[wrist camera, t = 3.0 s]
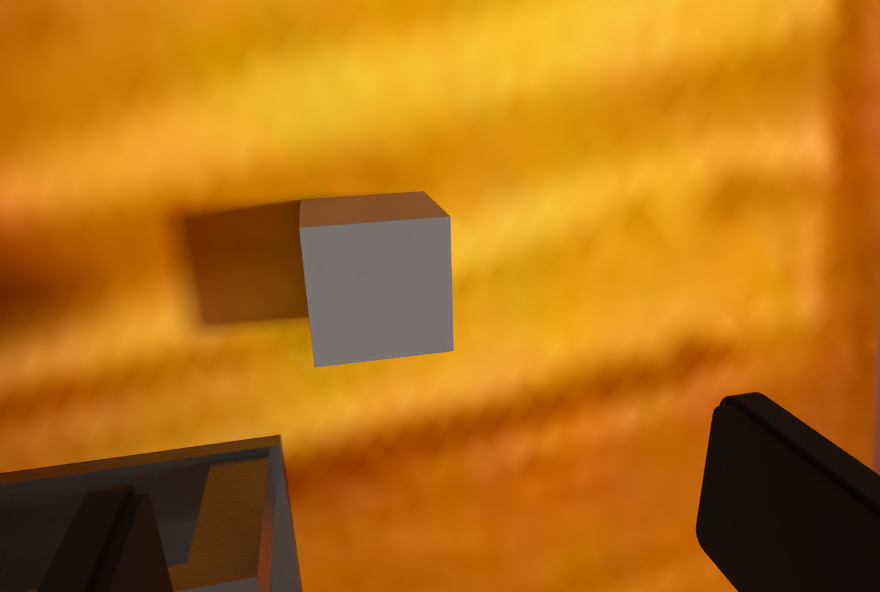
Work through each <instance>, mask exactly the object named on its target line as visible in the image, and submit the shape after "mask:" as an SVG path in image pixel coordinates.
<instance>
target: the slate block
mask: <svg viewBox="0 0 880 592" xmlns="http://www.w3.org/2000/svg"><path fill="white" fill-rule="evenodd" d="M299 232H300V241H301V250H302V259H303V268H304V277H305V286H306V295H307V303H308V312H309V321H310V330H311V339H312V348H313V357H314V366H315V367H321V366H330V365H339V364H347V363H356V362H364V361H373V360H381V359H390V358H398V357H407V356H415V355H424V354H432V353H441V352H450V351H454V349H453V309H452V268H451V227H450V216H449V215H448V214H447V213H446V212H445V211H444V210H443V209H442V208H441V207H440V206H439V205H438V204H437V203H436V202H434V201H433V200H432V199H431V198H430V197H429V196H428V195H427V194H426V193H425V192H409V193H394V194H380V195H365V196H350V197H336V198H321V199H306V200H300V217H299Z"/></svg>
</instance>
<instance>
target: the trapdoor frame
mask: <svg viewBox="0 0 880 592" xmlns="http://www.w3.org/2000/svg"><path fill="white" fill-rule="evenodd" d="M128 485H131V486H134V488H135V489H136V492H137V494H142V493H148V494H149V496H150V498H151V501H152V505H153V509H154V514H155V518H156V522H157V526H158V530H159V534H160V538H161V543H162V547H163V551H164V555H165V559H166V563H167V567H168V572H169V576H170V580H171V584H172V588H173V592H303V591H302V584H301V577H300V570H299V563H298V556H297V549H296V542H295V535H294V527H293V520H292V513H291V506H290V499H289V492H288V485H287V478H286V471H285V464H284V456H283V449H282V442H281V435H279V436H272V437H264V438H257V439H250V440H243V441H235V442H228V443H221V444H213V445H206V446H199V447H192V448H184V449H177V450H170V451H163V452H155V453H148V454H141V455H134V456H126V457H119V458H112V459H105V460H97V461H90V462H83V463H76V464H68V465H61V466H54V467H47V468H39V469H32V470H25V471H18V472H10V473H3V474H0V592H37V590H38V588H39V586H40V584H41V582H42V580H43V578H44V576H45V574H46V572H47V570H48V568H49V566H50V564H51V562H52V561H53V559H54V557H55V555H56V553H57V551H58V549H59V547H60V545H61V543H62V541H63V539H64V537H65V535H66V533H67V531H68V529H69V527H70V525H71V523H72V521H73V519H74V517H75V515H76V513H77V511H78V509H79V507H80V505H81V503H82V501H83V499H84V497H85V496H86V494H87V493H88V492H90V491H94V490H101V489H108V488H114V487H121V486H128Z"/></svg>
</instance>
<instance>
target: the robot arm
mask: <svg viewBox="0 0 880 592" xmlns="http://www.w3.org/2000/svg"><path fill="white" fill-rule="evenodd" d="M696 535H697V538H698V542H699V544H700V546H701V547H702V549H703V550H704V552H705V553H706V554H707V555H708V556H709V558H710V559H711V560H712V561H713V562H714V563H715V565H716V566H717V567H718V568H719V569H720V571H721V572H722V573H723V574H724V575H725V577H726V578H727V579H728V580H729V581H730V582H731V584H732V585H733V586H734V587H735V588H736V590H737V591H738V592H880V475H878V474H877V473H875V472H874V471H872V470H871V469H870V468H868V467H867V466H865V465H864V464H862V463H861V462H859V461H858V460H857V459H855V458H854V457H852V456H851V455H849V454H848V453H847V452H845V451H844V450H842V449H841V448H839V447H838V446H837V445H835V444H834V443H832V442H831V441H829V440H828V439H827V438H825V437H824V436H822V435H821V434H819V433H818V432H817V431H815V430H814V429H812V428H811V427H809V426H808V425H806V424H805V423H804V422H802V421H801V420H799V419H798V418H796V417H795V416H794V415H792V414H791V413H789V412H788V411H786V410H785V409H784V408H782V407H781V406H779V405H778V404H776V403H775V402H774V401H772V400H771V399H769V398H768V397H766V396H765V395H763V394H761V393H758V392H753V393H746V394H739V395H732V396H727V397H725V398H723V400H722V401H721V402H720V406H718V407H716V408H715V410H714V412H713V416H712V423H711V429H710V436H709V443H708V449H707V456H706V463H705V469H704V476H703V483H702V489H701V496H700V503H699V509H698V516H697V523H696ZM37 592H173V588H172V584H171V580H170V576H169V572H168V567H167V563H166V559H165V555H164V551H163V547H162V543H161V538H160V534H159V530H158V526H157V522H156V518H155V514H154V509H153V505H152V501H151V498H150V496H149V494H148V493H142V494H137V492H136V489H135V488H134V486H131V485H128V486H121V487H114V488H108V489H101V490H94V491H90V492H88V493H87V494H86V496H85V497H84V499H83V501H82V503H81V505H80V507H79V509H78V511H77V513H76V515H75V517H74V519H73V521H72V523H71V525H70V527H69V529H68V531H67V533H66V535H65V537H64V539H63V541H62V543H61V545H60V547H59V549H58V551H57V553H56V555H55V557H54V559H53V561H52V562H51V564H50V566H49V568H48V570H47V572H46V574H45V576H44V578H43V580H42V582H41V584H40V586H39V588H38V590H37Z"/></svg>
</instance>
